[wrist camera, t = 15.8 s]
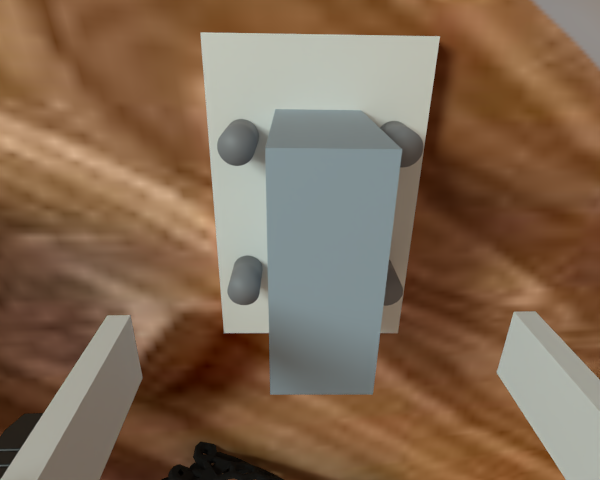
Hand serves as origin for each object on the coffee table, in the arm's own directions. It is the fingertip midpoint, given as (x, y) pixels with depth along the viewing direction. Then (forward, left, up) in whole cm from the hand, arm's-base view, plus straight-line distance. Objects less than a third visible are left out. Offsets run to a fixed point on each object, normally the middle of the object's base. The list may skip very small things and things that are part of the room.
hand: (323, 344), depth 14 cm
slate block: (0, 0, -14) cm, 14 cm away
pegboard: (0, 0, -15) cm, 15 cm away
